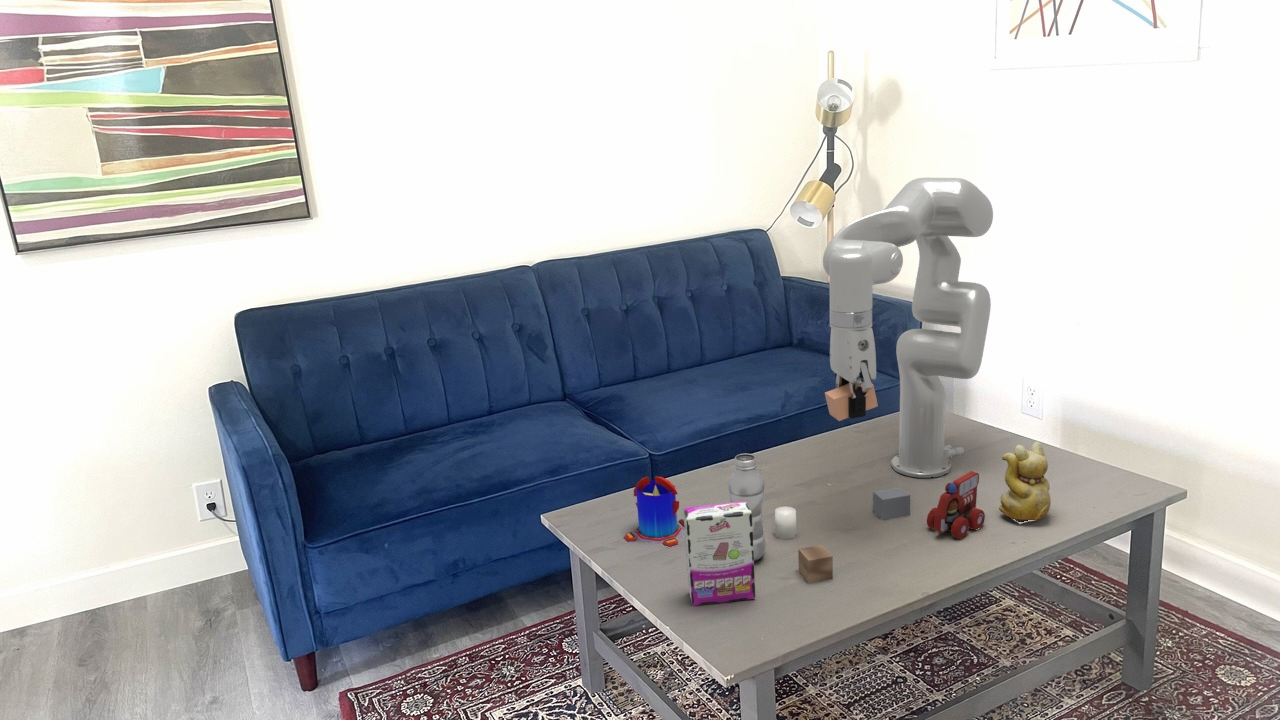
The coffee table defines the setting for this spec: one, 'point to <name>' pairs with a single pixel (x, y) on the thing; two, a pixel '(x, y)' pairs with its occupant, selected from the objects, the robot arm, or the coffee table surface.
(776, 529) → the cream cylinder
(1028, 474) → the decorative figurine
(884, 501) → the grey short brick
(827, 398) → the terracotta long brick
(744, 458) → the plastic bottle
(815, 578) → the walnut square block
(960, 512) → the toy fire truck
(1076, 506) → the coffee table surface
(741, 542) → the candy bar box
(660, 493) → the fantasy tower
